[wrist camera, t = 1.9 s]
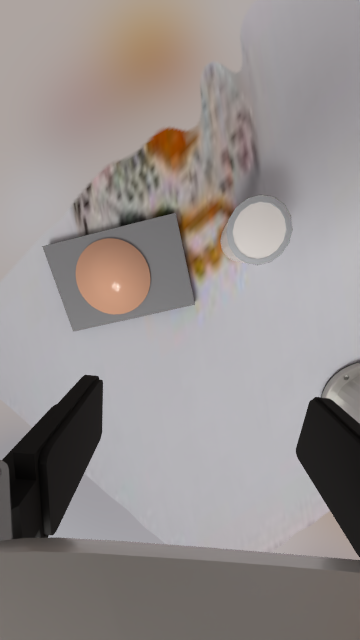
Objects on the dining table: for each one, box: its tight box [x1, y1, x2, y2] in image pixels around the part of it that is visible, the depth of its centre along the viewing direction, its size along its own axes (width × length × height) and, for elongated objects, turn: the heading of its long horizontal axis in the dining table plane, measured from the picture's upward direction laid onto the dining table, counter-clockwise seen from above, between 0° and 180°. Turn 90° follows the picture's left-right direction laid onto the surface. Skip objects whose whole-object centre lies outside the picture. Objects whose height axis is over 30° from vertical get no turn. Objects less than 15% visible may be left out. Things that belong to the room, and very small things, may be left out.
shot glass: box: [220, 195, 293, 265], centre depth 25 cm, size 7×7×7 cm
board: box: [43, 213, 195, 332], centre depth 29 cm, size 18×12×2 cm, turn 103°
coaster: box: [76, 238, 151, 314], centre depth 28 cm, size 10×10×1 cm
